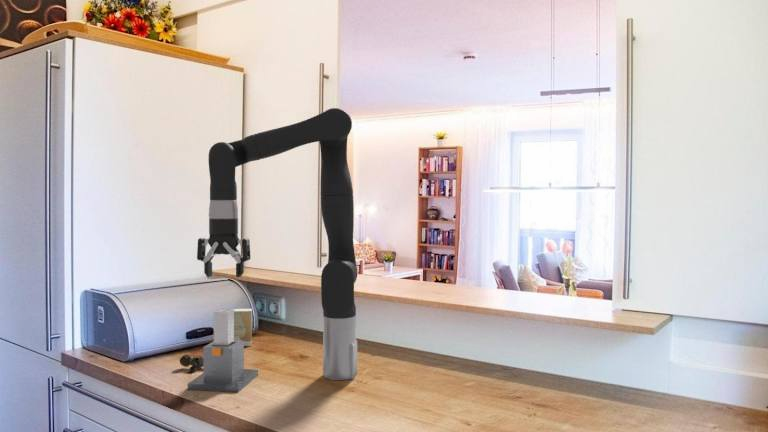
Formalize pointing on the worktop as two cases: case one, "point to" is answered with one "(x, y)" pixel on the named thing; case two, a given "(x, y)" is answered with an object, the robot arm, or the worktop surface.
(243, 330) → the skincare box
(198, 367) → the regulator
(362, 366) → the worktop surface
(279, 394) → the worktop surface
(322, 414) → the worktop surface
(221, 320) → the column
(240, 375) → the stand base
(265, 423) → the worktop surface
